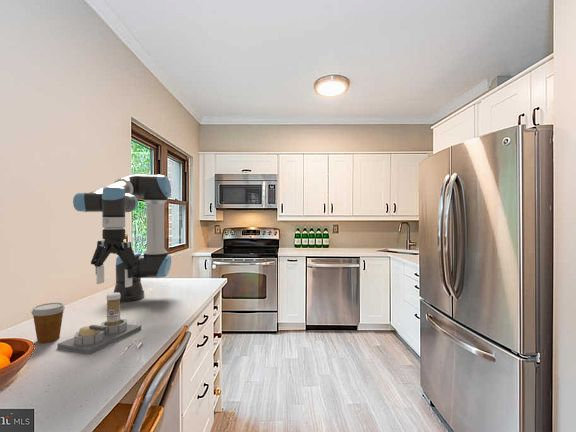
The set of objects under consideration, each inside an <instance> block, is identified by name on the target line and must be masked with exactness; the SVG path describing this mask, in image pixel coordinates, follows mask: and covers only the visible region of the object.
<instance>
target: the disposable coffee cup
mask: <svg viewBox="0 0 576 432" xmlns="http://www.w3.org/2000/svg"><path fill="white" fill-rule="evenodd" d="M65 308H66V306H65V305H64V303H63V302H49V303H41V304H39V305H38V304H37V305H36V306H34V307H33V308H32V310H31V313H30V314H31V315H32V317H33V324H34V329H35V333H36V334H35V336H36V342H37V343H38V344H45V343H47V344H48V343H52V342H55V341H57V340H58V339H60V336H61V329H62V322H63V316H64V310H65Z"/></svg>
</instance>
